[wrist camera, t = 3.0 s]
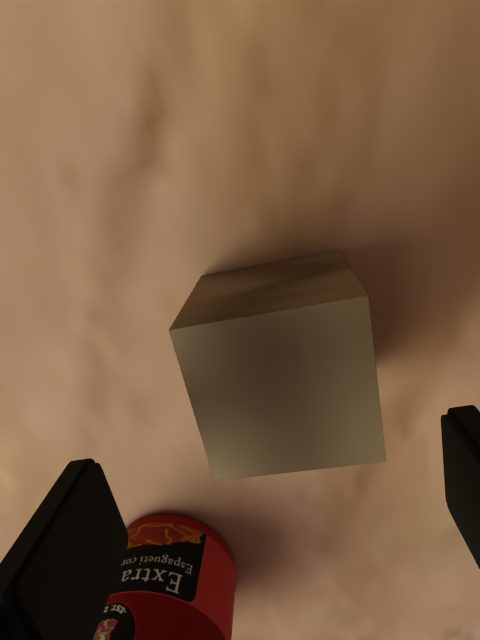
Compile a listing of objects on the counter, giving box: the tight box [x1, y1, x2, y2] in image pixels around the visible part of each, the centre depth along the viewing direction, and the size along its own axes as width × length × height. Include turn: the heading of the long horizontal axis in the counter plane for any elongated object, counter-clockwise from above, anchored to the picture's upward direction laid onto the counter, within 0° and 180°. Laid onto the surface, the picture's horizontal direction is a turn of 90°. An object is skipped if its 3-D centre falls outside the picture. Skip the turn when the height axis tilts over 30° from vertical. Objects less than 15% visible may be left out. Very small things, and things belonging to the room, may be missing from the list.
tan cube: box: [169, 250, 386, 481], centre depth 16 cm, size 6×6×6 cm
